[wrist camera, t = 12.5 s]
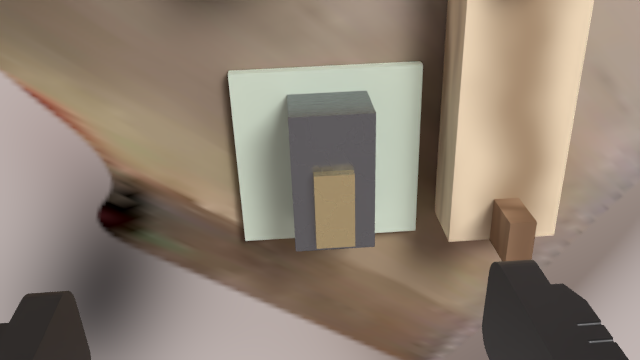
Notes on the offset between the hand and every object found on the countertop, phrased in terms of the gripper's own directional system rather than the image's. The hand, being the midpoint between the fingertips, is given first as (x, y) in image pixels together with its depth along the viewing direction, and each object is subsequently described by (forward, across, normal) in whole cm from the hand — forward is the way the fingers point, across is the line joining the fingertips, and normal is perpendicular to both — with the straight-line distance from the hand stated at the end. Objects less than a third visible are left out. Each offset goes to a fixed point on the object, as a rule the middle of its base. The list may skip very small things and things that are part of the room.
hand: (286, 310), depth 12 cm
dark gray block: (+26, -3, +10) cm, 28 cm away
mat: (+27, -3, +10) cm, 29 cm away
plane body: (+27, -14, +5) cm, 31 cm away
